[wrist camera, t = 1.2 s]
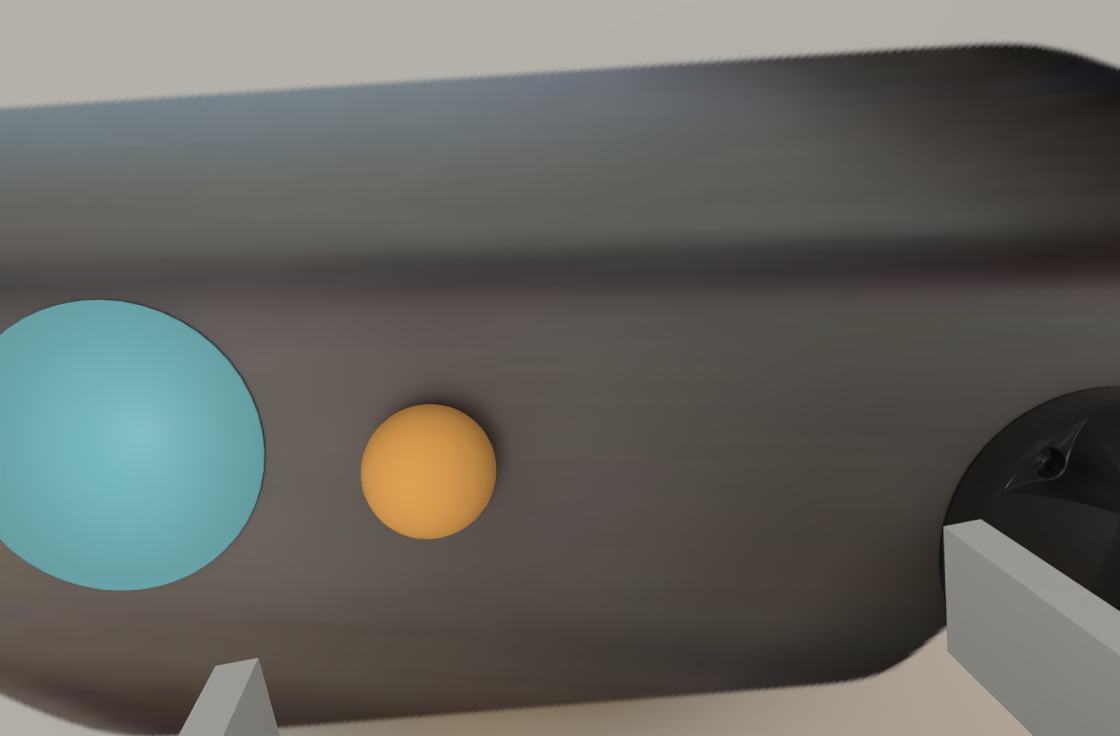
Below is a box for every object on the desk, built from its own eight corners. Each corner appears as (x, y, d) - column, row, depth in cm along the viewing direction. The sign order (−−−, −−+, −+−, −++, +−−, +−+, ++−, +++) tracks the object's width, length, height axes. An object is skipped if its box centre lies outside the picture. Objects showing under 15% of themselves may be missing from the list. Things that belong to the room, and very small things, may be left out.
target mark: (259, 303, 34) (258, 303, 34) (270, 589, 36) (268, 591, 36) (-57, 296, 33) (-60, 296, 33) (-27, 588, 36) (-30, 590, 35)
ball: (499, 393, 35) (495, 422, 30) (497, 512, 36) (493, 561, 31) (373, 391, 35) (346, 420, 30) (374, 511, 36) (349, 560, 31)
